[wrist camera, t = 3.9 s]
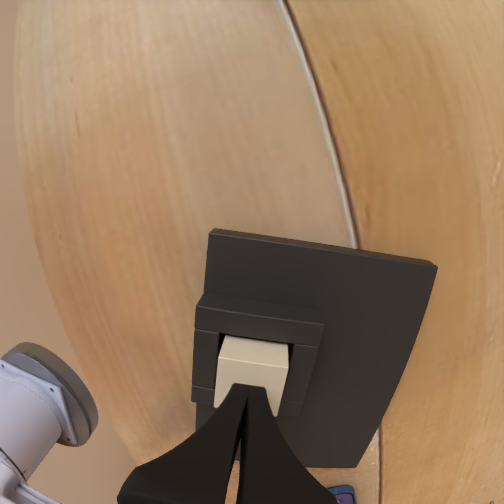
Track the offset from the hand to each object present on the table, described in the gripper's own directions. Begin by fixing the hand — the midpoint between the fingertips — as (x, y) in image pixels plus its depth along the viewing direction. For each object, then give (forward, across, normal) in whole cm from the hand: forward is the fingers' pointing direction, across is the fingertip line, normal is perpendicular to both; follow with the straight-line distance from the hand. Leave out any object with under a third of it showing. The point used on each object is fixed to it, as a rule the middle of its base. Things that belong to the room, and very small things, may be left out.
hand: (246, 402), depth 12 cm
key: (+3, 0, 0) cm, 3 cm away
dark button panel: (+6, -3, +2) cm, 7 cm away
